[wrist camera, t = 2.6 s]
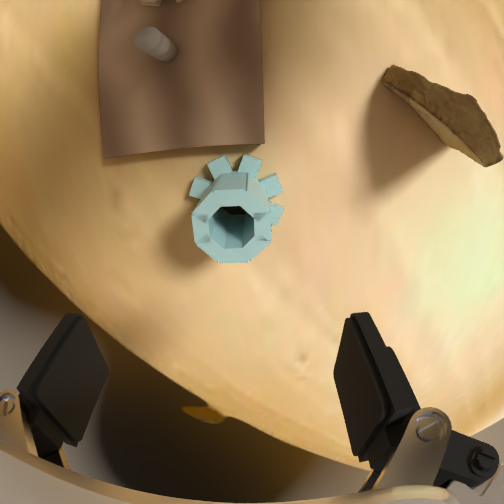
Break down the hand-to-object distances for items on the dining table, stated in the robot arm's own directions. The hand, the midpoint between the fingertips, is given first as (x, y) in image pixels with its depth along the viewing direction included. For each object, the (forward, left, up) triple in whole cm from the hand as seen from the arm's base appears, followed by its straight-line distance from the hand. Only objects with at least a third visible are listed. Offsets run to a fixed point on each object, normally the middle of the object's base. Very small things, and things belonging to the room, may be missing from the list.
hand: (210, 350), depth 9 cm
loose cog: (0, 0, -18) cm, 18 cm away
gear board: (+4, -18, -18) cm, 25 cm away
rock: (-19, -10, -18) cm, 28 cm away
